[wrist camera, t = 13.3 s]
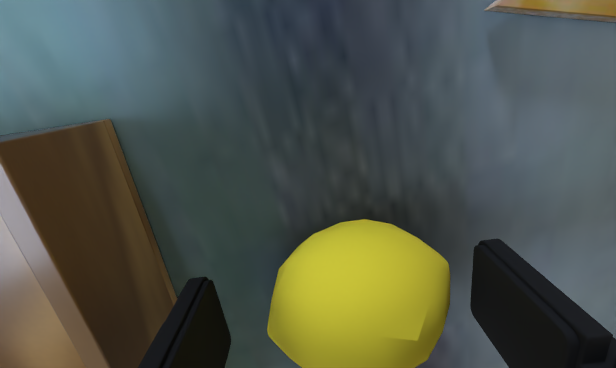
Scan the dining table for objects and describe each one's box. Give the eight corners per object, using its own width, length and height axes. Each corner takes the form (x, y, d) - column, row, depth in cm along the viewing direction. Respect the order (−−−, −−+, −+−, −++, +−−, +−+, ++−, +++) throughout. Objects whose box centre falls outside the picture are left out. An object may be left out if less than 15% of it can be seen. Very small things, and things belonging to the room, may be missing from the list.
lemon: (398, 171, 12) (466, 242, 7) (438, 272, 13) (517, 391, 8) (246, 237, 13) (206, 342, 8) (301, 323, 14) (297, 457, 9)
